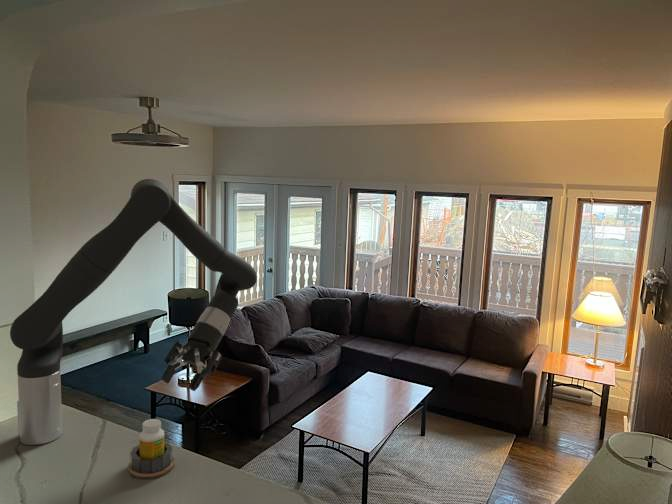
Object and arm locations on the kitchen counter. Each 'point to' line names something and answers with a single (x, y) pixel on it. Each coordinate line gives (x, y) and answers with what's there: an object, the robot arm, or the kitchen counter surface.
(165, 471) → the collar mount
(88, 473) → the kitchen counter surface
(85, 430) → the kitchen counter surface
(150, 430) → the supplement bottle
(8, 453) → the kitchen counter surface
